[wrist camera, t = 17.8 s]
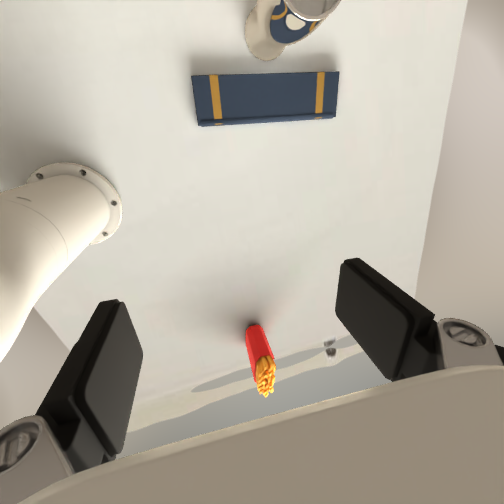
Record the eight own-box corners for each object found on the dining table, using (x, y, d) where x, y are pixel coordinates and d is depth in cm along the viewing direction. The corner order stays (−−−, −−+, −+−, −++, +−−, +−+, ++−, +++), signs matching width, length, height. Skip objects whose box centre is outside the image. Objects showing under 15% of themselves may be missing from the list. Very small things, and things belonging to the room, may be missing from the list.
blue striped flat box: (198, 126, 36) (198, 126, 35) (191, 76, 33) (191, 75, 32) (332, 118, 40) (335, 118, 39) (335, 72, 37) (339, 71, 36)
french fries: (261, 347, 60) (278, 397, 48) (244, 350, 59) (257, 402, 48) (263, 319, 56) (281, 366, 44) (245, 321, 55) (259, 370, 43)
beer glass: (241, -4, 31) (277, -107, 18) (292, 3, 32) (360, -88, 19) (241, 63, 34) (272, 18, 21) (288, 66, 35) (344, 27, 22)
